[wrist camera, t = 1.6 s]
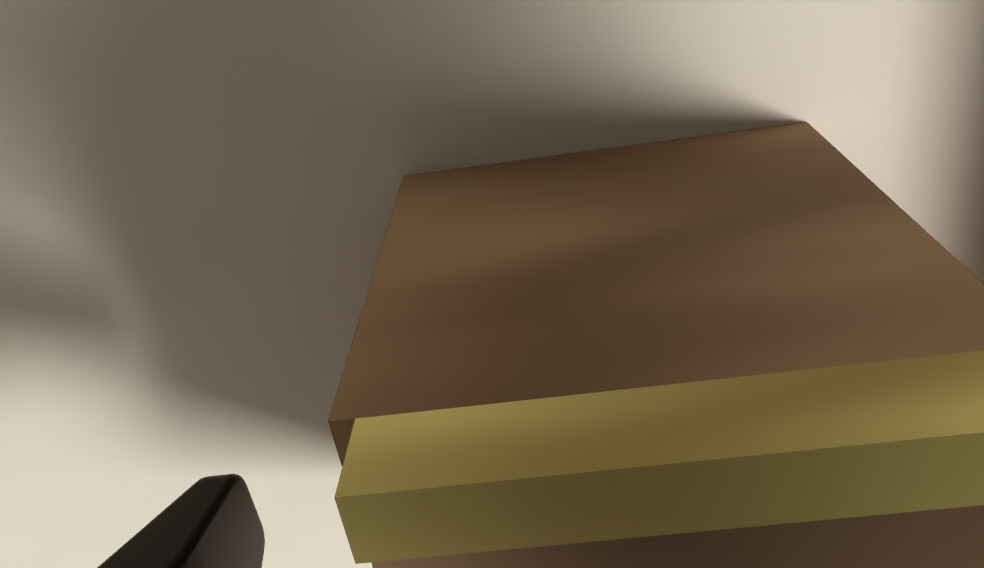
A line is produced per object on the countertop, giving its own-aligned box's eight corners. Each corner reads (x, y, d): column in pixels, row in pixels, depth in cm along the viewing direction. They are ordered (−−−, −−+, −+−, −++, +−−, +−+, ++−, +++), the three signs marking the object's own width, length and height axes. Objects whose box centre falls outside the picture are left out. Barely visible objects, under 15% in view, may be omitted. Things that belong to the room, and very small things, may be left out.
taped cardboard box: (805, 119, 10) (1128, 416, 5) (791, 437, 12) (997, 862, 7) (404, 174, 10) (304, 500, 5) (466, 471, 13) (440, 896, 7)
